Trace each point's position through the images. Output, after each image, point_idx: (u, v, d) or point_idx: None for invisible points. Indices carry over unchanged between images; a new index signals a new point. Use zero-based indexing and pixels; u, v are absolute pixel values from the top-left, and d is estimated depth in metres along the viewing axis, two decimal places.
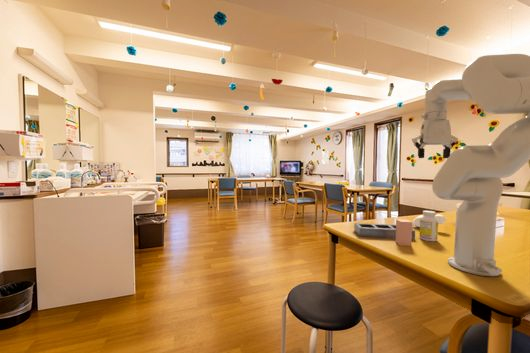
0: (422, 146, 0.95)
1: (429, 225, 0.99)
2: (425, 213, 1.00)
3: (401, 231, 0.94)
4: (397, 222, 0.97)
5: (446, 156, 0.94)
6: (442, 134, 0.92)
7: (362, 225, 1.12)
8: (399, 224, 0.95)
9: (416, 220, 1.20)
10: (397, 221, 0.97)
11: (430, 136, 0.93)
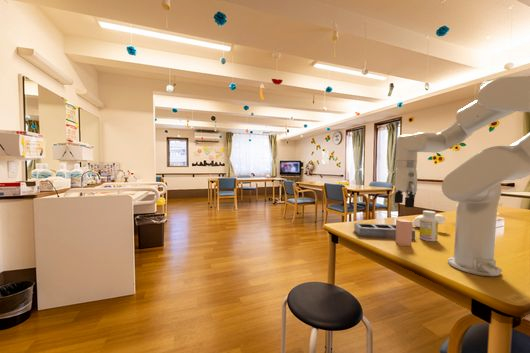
0: None
1: (429, 225, 0.99)
2: (425, 213, 1.00)
3: (401, 231, 0.94)
4: (397, 222, 0.97)
5: (401, 201, 1.00)
6: None
7: (362, 225, 1.12)
8: (399, 224, 0.95)
9: (416, 220, 1.20)
10: (397, 221, 0.97)
11: None
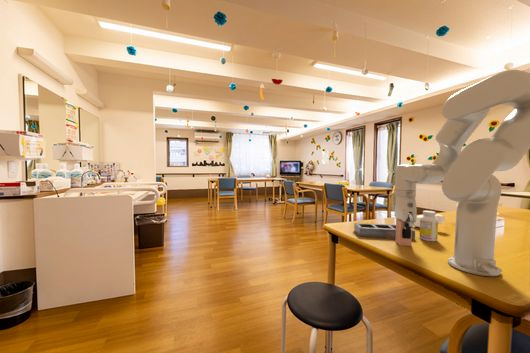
0: None
1: (429, 225, 0.99)
2: (425, 213, 1.00)
3: (401, 231, 0.94)
4: (397, 222, 0.97)
5: None
6: None
7: (362, 225, 1.12)
8: (399, 224, 0.95)
9: None
10: (397, 221, 0.97)
11: None
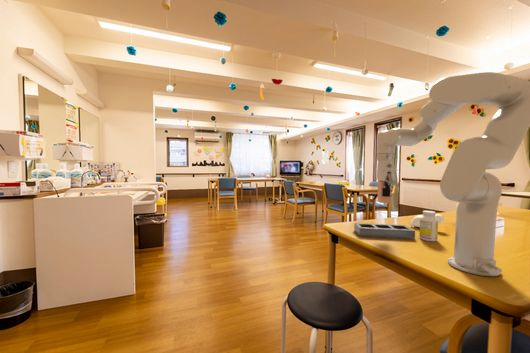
0: None
1: (429, 225, 0.99)
2: (425, 213, 1.00)
3: (381, 190, 1.05)
4: (378, 183, 1.08)
5: None
6: None
7: (362, 225, 1.12)
8: (380, 184, 1.07)
9: (415, 220, 1.21)
10: (378, 182, 1.08)
11: None
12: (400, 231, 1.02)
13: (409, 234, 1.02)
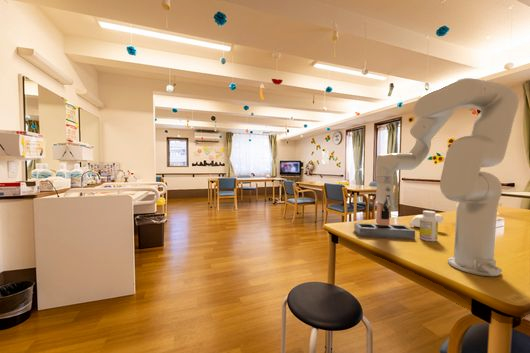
0: (388, 208, 1.05)
1: (429, 225, 0.99)
2: (425, 213, 1.00)
3: (380, 212, 1.06)
4: (377, 205, 1.09)
5: None
6: None
7: (362, 225, 1.12)
8: (378, 206, 1.08)
9: (414, 220, 1.21)
10: (377, 204, 1.09)
11: None
12: (400, 231, 1.02)
13: (409, 234, 1.02)
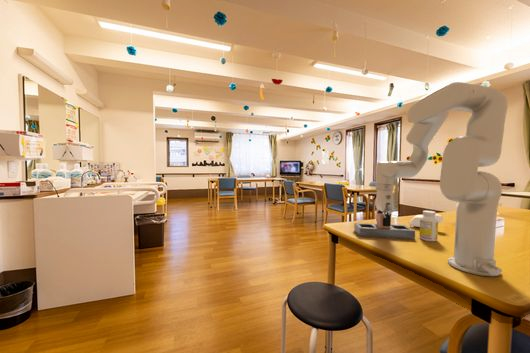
0: None
1: (429, 225, 0.99)
2: (425, 213, 1.00)
3: (380, 223, 1.06)
4: (377, 216, 1.09)
5: None
6: None
7: (362, 225, 1.12)
8: (379, 217, 1.08)
9: (414, 220, 1.21)
10: (377, 215, 1.09)
11: None
12: (400, 231, 1.02)
13: (409, 234, 1.02)
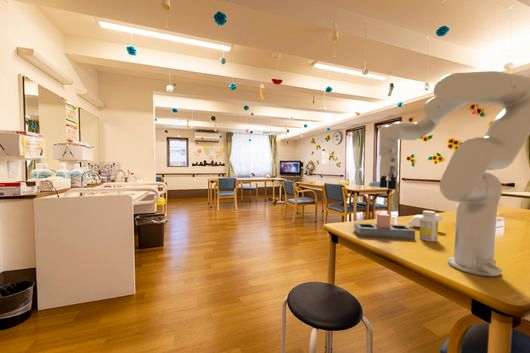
0: None
1: (429, 225, 0.99)
2: (425, 213, 1.00)
3: (380, 223, 1.06)
4: (377, 216, 1.09)
5: (385, 186, 1.11)
6: None
7: (362, 225, 1.12)
8: (379, 217, 1.08)
9: (413, 219, 1.21)
10: (377, 215, 1.09)
11: None
12: (400, 231, 1.02)
13: (409, 234, 1.02)
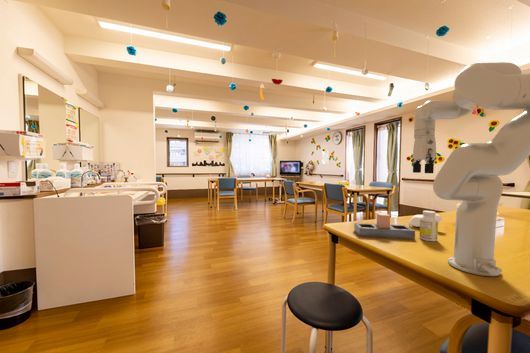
0: None
1: (429, 225, 0.99)
2: (425, 213, 1.00)
3: (380, 223, 1.06)
4: (377, 216, 1.09)
5: (419, 171, 1.04)
6: None
7: (362, 225, 1.12)
8: (379, 217, 1.08)
9: (413, 219, 1.22)
10: (377, 215, 1.09)
11: None
12: (400, 231, 1.02)
13: (409, 234, 1.02)
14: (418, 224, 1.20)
